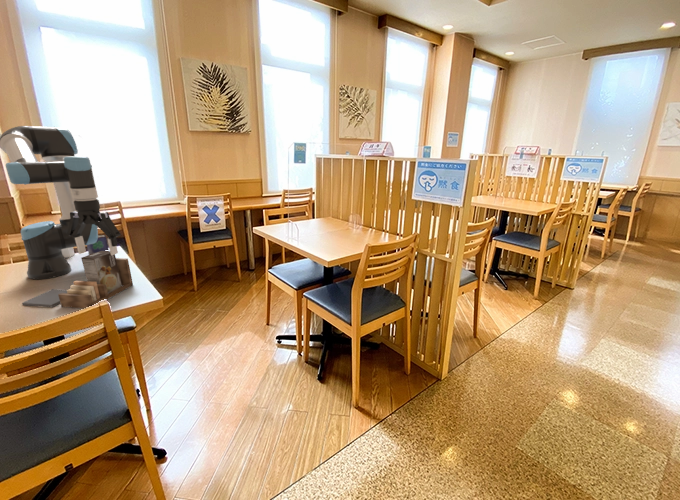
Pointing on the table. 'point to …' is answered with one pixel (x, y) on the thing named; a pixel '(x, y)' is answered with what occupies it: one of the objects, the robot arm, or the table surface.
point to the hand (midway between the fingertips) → (98, 253)
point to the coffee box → (102, 270)
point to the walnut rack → (99, 289)
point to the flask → (98, 245)
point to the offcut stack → (85, 289)
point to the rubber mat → (45, 299)
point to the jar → (68, 252)
